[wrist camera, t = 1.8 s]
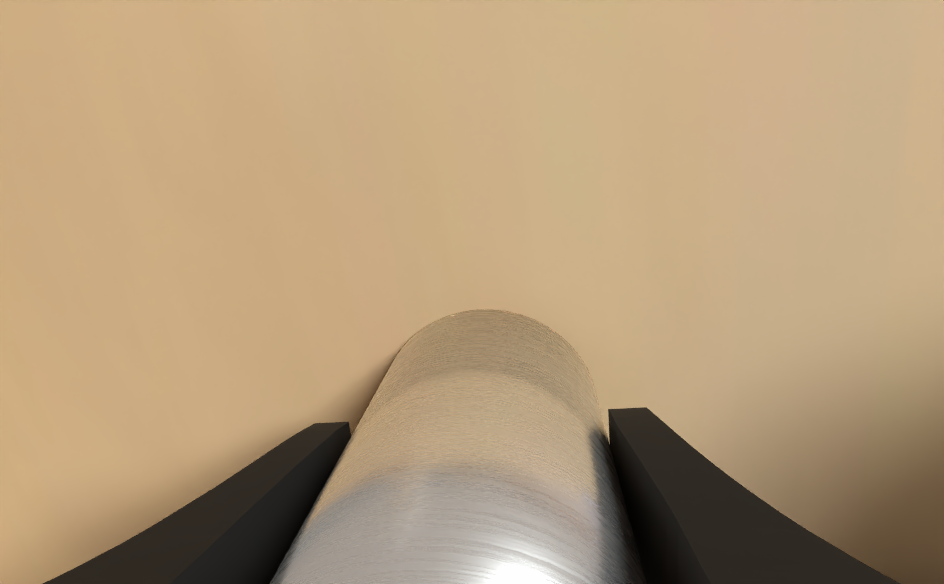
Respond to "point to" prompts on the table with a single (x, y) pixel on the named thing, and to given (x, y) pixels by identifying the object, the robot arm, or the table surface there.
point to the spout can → (473, 470)
